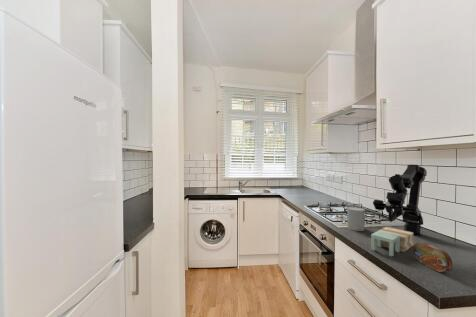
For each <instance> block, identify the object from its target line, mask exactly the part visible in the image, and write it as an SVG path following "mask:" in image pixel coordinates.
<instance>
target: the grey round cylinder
mask: <svg viewBox="0 0 476 317" xmlns="http://www.w3.org/2000/svg"><path fill="white" fill-rule="evenodd" d="M365 211H366V210H365V208H362V207H358V206H357V207H356V206H349V207H348V206H347V223H346V224H347V229H348V230H352V231H357V232H363V231H365V219H366V217H365V213H366V212H365Z"/></svg>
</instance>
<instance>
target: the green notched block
mask: <svg viewBox="0 0 476 317" xmlns="http://www.w3.org/2000/svg"><path fill="white" fill-rule="evenodd" d="M376 231H377V232H376ZM376 231H375V232H373V233H371V234H370V235H371V236H370V251H376V245H377V247H379V248H382V247H383V246H382V241H386V242H389V248H388V256H389V257H392V256H393V257H394V256H395V254H394V253H395V252H396V253H400V252H401V251H400V236H399V235H395V234H391V233H386V232H382V231H378V230H376ZM376 239H378V244H376ZM394 242H395V250H394Z"/></svg>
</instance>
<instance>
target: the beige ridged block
mask: <svg viewBox="0 0 476 317" xmlns="http://www.w3.org/2000/svg"><path fill="white" fill-rule="evenodd" d="M377 231H382V232H386V233H391V234H395V235H399V236H400V252H402V253H405V252H406V251H408V250H409V249H410V248H412V247H414V233H413V232H409V231H404V229H400V228H399V229H398V228H395V227H390V226H385V227H383V228H380V229H379V230H376V231H375V232H377ZM377 244H378V239H376V241H375V245H377ZM382 247H383V248H388V249H389V242H386V241H382ZM394 251H395V242H394Z"/></svg>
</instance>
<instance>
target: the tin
mask: <svg viewBox="0 0 476 317" xmlns="http://www.w3.org/2000/svg"><path fill="white" fill-rule="evenodd" d="M412 250H413V251H412V252H413V255H414V258H415V259H416V260H417V262H419V263H420V262H421V263H420V264H422V263H423V264H422V265H424V264H425V265H424V266H426V267H428V268H430V269H431V268H432V270H433V269H434V270H433V271H435V270H436V272H437V271H438V273H448V272H450V271H451V270H452V268H453V260H452V258H451V256H450V255H449V253H448V252H446V251H445V250H443V249H440V248H438V247H437V246H433V245H431V244H428V243H426V242H417V243H415V244H413V248H412Z"/></svg>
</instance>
